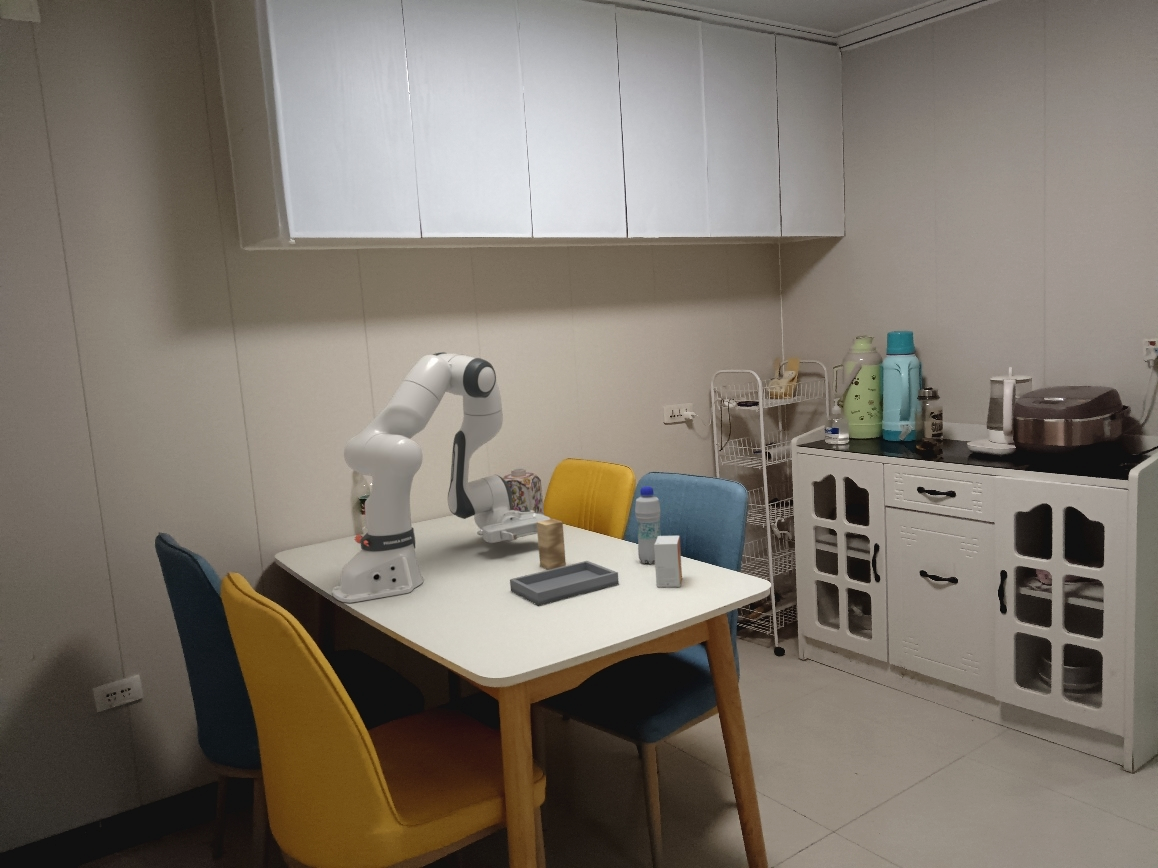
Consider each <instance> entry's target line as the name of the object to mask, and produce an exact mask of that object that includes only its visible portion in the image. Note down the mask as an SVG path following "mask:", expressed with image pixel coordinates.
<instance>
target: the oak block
mask: <svg viewBox="0 0 1158 868" xmlns="http://www.w3.org/2000/svg"><path fill="white" fill-rule="evenodd" d="M537 532H538V533H537V543H538V555H539V567H541V568H544V569H545V568H546V569H545V570H547V569H548V570H550V569H554V568H559V567H563V566H567V563H566V561H567V560H566V549H565V538H564V537H565V535H564V522H563V521H562V520H558V519H555V518H550V520H545V521H540V522H537Z"/></svg>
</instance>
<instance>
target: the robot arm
mask: <svg viewBox="0 0 1158 868" xmlns="http://www.w3.org/2000/svg"><path fill="white" fill-rule="evenodd" d="M446 393H449V394H452V395H454V396H455V395H456V396H462V411H463V416H462V417H463V419H462V423H461V426H460V429H459V430H458V431H457V432H456V433H455V435H454V438H453V442H452V443H453V445H452V453H451V468H450V482H449V488H448V492H447V504H448V505H447V506H448V509H449V511H450V512H451V513H452V514H453V515H454V516H456V517H458V518H460V519H463V520H466V519H468V518H471V517H473V519H474V522H475V523H474V524H475V525H476V526H477V527H478V528H479V530H478V531H477V532H476V534H477V535H479V536H480V537H481V536H482V540H484V541H485V542H487V543H488V544H495V543H498V542H512V541H515V540H518V539H519V538H523V537H528V536H532V535H538V532H537V522H540V521H545V520H550V519H551V517H549V516H547V515H545V514H544V515H542V514H538V513H535V512H534V511H533V510H524V511H515V510H510V509H511V505H512V492H511V489H510V486H509V484H508V483H507V482H506V481H505V480H504V479H503V478H502V477H503V476H500V475H498V474H493V475H489V476H485V477H482V478H480V479H476V480H475V479H474V480H472V481H469V472H470V470H469V469H470V460H471V458H472V456H473V454H474V453H475V452H477V450H479V449H480V447H482V446H483V445H486V443H488V442H490V441H492V439H494V438H495V437H496V436H497V435H498V433H499V432H500V431H501V429H502V427H503V420H504V417H503V405H502V397H501V392H500V388H499V385H498V381H497V375H496V370H495V368H494V367H493V365H492V364H491V363H490V361H487V360H485V359H483V358H481V357H473V356H470V355H469V356H468V355H465V354H463V353H462V354H461V353H447V352H445V351H443V352H435V353H433V354H427V355H426V354H425V355H423V356H422V357H421V358H419V360H418V361H417V362H416V363H415V364H414V365H413V366H412V368H411V369H410V370H409V371H408V372H407V374H406V376H405V377H404V378H403V380H401V382H400V384H399V386H398V388H396V391H395V392H394V394H393V396H392V397H391V399H389V402H388V403H387V405H386V406H385V407H384V408H383V409H382V411H380V412H379V414H378V415H376V416H375V418H374V419H373V420H372V421H370V423H369V424H367V426H366V427H365V428H364V429H363V430H362V431H361V432H358V434H356V435H355V436H353V437H351V438H350V439H349V440H348V441H347V442H346V444H345V447H344V451H343V458H344V461H345V463H346V464H347V466H348V467H349V468H350V469H352V470H353V471H354V472H356V473H358V474H360V475H363V476H369V477H372V483H371V491H370V493H369V496H368V497H367V499H366V500H365V503H364V511H365V521H366V522H365V523H366V531H367V532H366V533H365V534H364V535H361V534H356V535H355V537H354V540H355V543H357V544H360V548H361V549H360V550H359V551H358V552H357V553H356V554H355V555H354V556H353V557H352V558H350V560H349V561H348V562H347V563H346V564H345V565H344V566H343V567H342V570H341V573H340V584H339V585H335V586H334V587H333V588H332V593H331V594H332V596H333V598H334V599H335V600H338V601H339V602H343V603H358V602H362V601H369V600H374V599H381V598H385V597H391V596H399V595H403V594H409V593H411V592H412V591H413V590H414V589H415V588H416V587H419V586H421V585H422V583H423V582H424V578H423V575H422V571H421V570H420V567H419V563H418V559H417V555H416V544H417V543H416V535H415V530H414V527H413V525H412V515H411V500H410V499H411V489H412V484H413V481H414V478H415V475H416V474H417V473H418V472H419V470H420V468H421V467H422V464H423V452H422V449H421V446H420V445H419V444H418V443H417V442H416V441H414V440H413V439H412V438H413V437H414V436H416V435H417V434H419V433H420V432H422V431H423V430H425V428H426V427H427V425H428V423H429V422H430V420H431V418H432V417H433V415H434V413H435V411H436V410H437V408H438V406H439V405H440V404H441V401H442V400H443V397H445V396H444V395H445V394H446Z"/></svg>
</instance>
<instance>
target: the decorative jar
mask: <svg viewBox="0 0 1158 868" xmlns="http://www.w3.org/2000/svg"><path fill="white" fill-rule="evenodd" d="M526 470H527V469H526V468H524V467H523V468H520V467H519V468H513V469H511V470H510V471H511V472H510V473H509V474H506V475H503V476H501V477H502V478H503V479H504V480H505V481H506V482H507V483H508V484H509V486H510V489H511V492H512V505H511V509H510V510H515V511H524V510H533V511H534V512H535V513H538V514H542V515H545V512H544V499H543V497H544V496H543V490H542V480H541V478H540V477H539V476H538V475H537V474H536V473H533V472H527V471H526Z"/></svg>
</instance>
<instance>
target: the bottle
mask: <svg viewBox="0 0 1158 868" xmlns="http://www.w3.org/2000/svg"><path fill="white" fill-rule="evenodd" d="M654 493H655V492H654V488H653V487H651V486H643V487H641V488H640V496H639V497H637V498H636V499H635V506H634V507H635V510H634V513H635V518H636V525H637V541H638V542H637V544H638V545H637V546H638V547H637V550H638V551H637V555H638V559H639V561H640V562H641V563H643V564H645V563H646V564H647V562H648V564H649V565H652V564H653V562H654V561H655V552H654V544H655V542H656V540H657V536H662V534H661V532H662V531H661V519H660V518H661V516H662V515H661V512H662V511H661V505H660V499H659V498H658V497H657V496H654Z"/></svg>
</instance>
